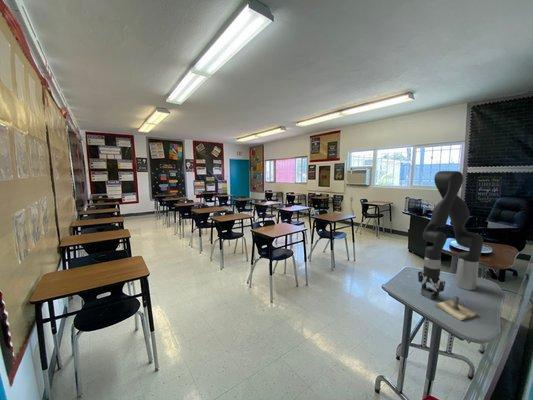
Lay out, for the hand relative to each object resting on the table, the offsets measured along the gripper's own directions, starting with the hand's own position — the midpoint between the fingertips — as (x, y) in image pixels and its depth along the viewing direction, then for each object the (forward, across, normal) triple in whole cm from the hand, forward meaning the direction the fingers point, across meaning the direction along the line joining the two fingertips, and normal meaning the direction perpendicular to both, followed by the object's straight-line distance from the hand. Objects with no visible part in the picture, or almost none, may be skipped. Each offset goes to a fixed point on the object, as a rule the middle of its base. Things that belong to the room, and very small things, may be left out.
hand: (429, 293), depth 128 cm
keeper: (+1, -14, +1) cm, 14 cm away
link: (+1, 0, 0) cm, 1 cm away
